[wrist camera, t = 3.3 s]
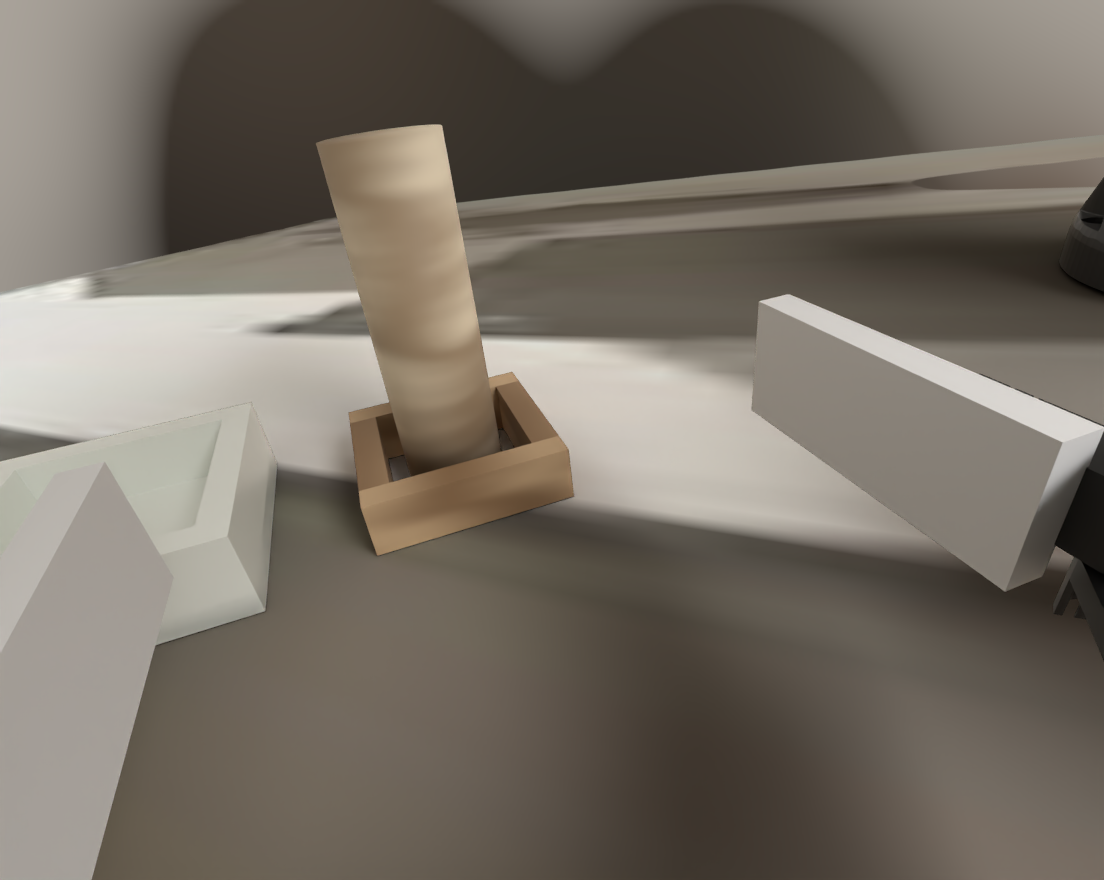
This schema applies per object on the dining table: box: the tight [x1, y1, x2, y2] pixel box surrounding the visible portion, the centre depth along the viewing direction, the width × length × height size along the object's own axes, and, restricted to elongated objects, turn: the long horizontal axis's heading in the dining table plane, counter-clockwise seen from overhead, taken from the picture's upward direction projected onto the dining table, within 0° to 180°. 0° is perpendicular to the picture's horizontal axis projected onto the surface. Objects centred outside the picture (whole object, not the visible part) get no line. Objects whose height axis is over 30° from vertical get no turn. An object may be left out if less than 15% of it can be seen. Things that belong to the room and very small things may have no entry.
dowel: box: [316, 125, 502, 477], centre depth 21 cm, size 4×4×12 cm
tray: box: [0, 402, 277, 645], centre depth 21 cm, size 9×9×3 cm
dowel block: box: [349, 372, 574, 556], centre depth 24 cm, size 7×7×2 cm
